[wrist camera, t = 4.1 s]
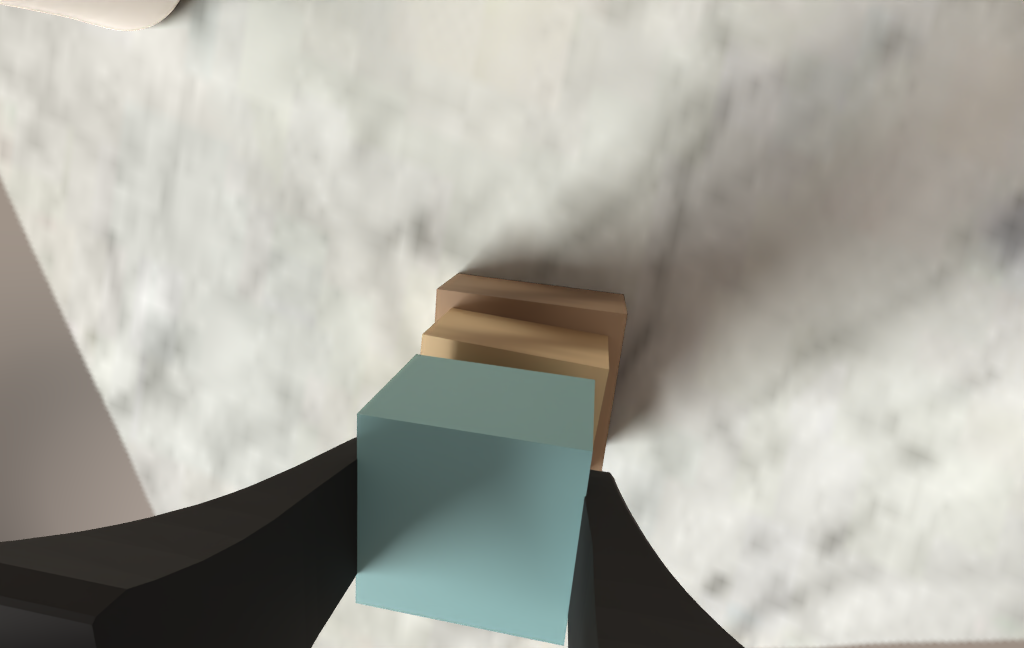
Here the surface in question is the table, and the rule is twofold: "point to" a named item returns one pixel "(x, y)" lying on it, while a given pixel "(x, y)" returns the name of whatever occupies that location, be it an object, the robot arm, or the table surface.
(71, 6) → the drinking glass
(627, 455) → the table surface
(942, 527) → the table surface
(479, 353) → the tower mid
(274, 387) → the table surface
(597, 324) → the tower base
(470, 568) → the teal block
